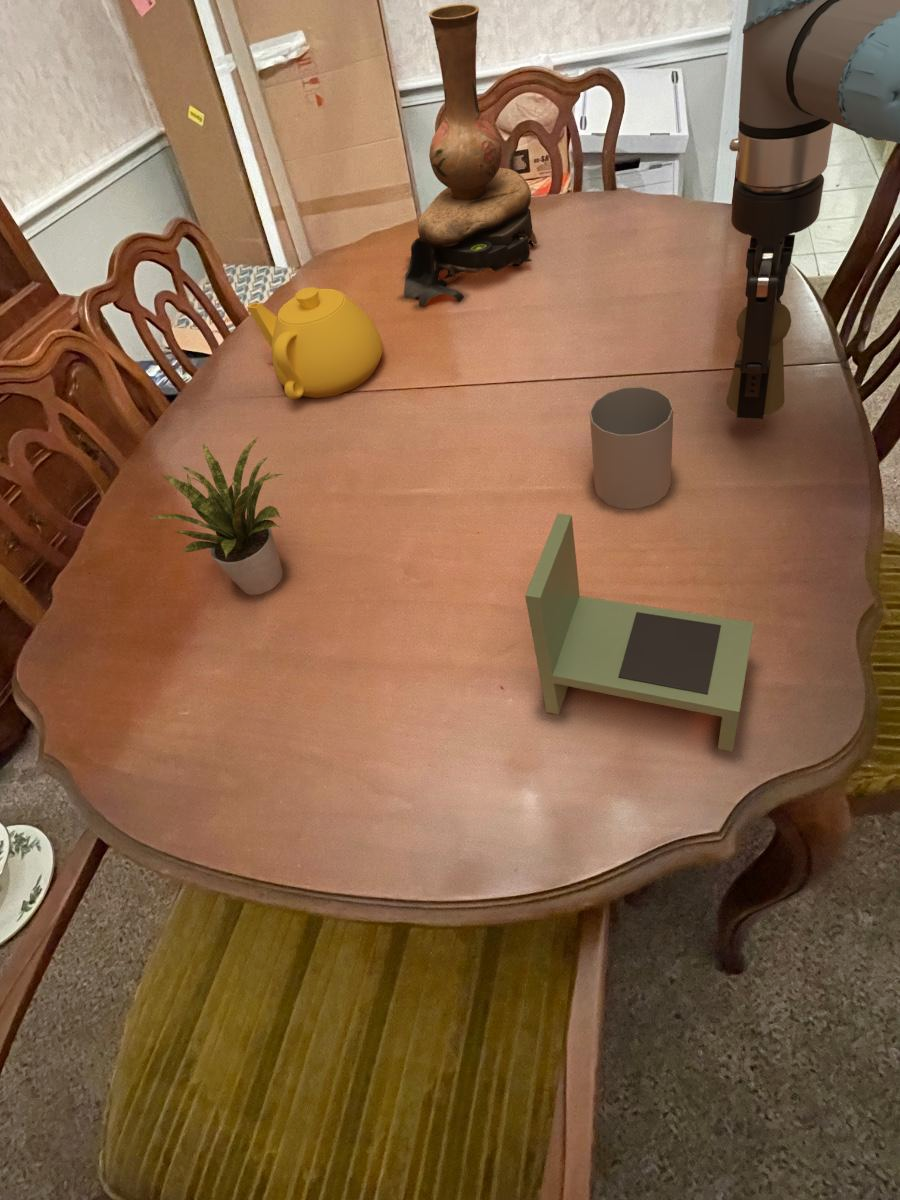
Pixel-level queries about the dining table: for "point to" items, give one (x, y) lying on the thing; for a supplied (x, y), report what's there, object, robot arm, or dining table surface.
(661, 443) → the cup
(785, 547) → the dining table surface
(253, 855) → the dining table surface
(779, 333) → the brown peg doll
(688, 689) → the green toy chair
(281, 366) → the teapot
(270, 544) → the house plant
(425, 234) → the vase
